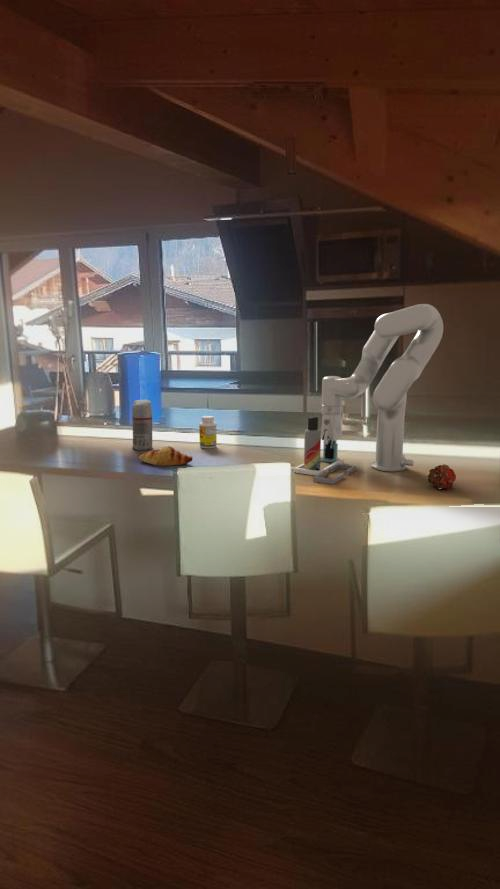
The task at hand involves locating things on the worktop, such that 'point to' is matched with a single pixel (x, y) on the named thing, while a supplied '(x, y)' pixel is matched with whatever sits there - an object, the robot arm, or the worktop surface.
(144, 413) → the spray can
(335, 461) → the lane sled
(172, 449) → the croissant
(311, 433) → the lotion bottle
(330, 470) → the grey open frame
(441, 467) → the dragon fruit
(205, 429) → the supplement bottle
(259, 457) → the worktop surface
